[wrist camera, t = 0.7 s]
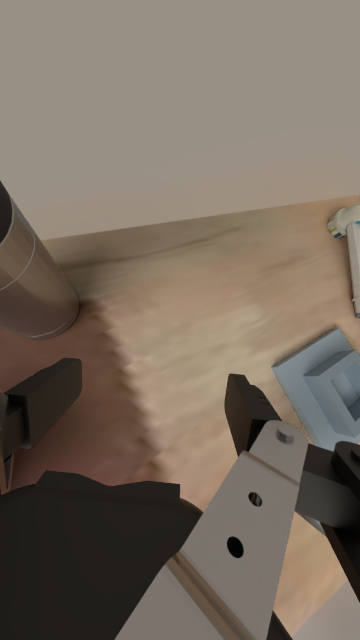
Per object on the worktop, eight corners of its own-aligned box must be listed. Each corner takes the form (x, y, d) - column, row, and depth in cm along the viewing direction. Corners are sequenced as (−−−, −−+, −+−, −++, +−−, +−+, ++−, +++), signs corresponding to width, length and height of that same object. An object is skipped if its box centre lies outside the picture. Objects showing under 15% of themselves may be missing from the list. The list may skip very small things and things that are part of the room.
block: (271, 367, 33) (291, 365, 29) (331, 329, 38) (356, 323, 34) (324, 462, 31) (354, 475, 27) (381, 408, 36) (414, 412, 32)
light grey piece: (370, 313, 37) (355, 192, 40) (335, 319, 43) (325, 214, 47) (392, 315, 38) (375, 197, 42) (354, 320, 44) (343, 217, 48)
